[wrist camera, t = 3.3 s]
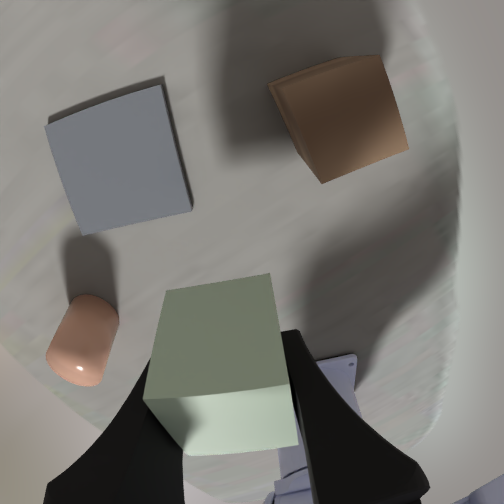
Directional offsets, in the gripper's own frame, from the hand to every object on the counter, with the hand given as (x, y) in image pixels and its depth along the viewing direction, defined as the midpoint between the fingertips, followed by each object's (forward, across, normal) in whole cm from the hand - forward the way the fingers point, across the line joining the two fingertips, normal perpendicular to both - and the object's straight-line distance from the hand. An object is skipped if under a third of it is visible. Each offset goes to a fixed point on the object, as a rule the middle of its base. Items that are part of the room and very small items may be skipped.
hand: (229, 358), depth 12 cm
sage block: (+2, 0, 0) cm, 2 cm away
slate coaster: (+9, +5, -6) cm, 12 cm away
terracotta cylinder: (+9, +11, +4) cm, 14 cm away
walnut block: (+9, -6, -7) cm, 13 cm away
